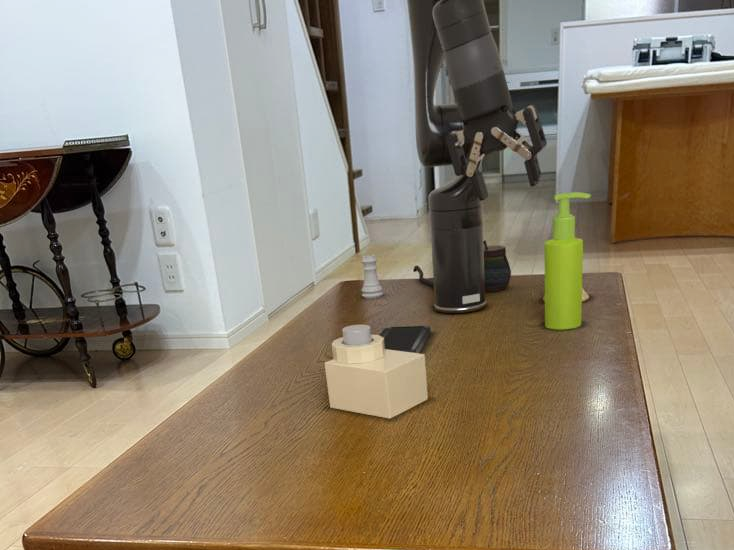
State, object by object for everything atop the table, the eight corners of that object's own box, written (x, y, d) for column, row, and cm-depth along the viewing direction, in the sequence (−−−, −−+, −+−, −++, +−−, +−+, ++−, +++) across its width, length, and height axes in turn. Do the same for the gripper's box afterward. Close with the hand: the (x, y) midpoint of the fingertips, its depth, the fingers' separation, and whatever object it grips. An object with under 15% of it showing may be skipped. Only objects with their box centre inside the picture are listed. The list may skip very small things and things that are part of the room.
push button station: (325, 406, 108) (317, 346, 104) (364, 389, 113) (358, 330, 109) (390, 419, 101) (384, 355, 98) (428, 399, 107) (423, 338, 103)
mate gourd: (513, 285, 165) (512, 232, 161) (508, 293, 159) (507, 239, 154) (477, 286, 167) (476, 234, 163) (471, 294, 161) (469, 240, 156)
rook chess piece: (383, 298, 165) (379, 256, 161) (361, 299, 165) (356, 258, 161) (384, 293, 169) (380, 252, 165) (362, 295, 169) (358, 254, 165)
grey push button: (338, 346, 105) (336, 330, 104) (356, 339, 107) (354, 323, 106) (359, 349, 103) (358, 332, 102) (377, 341, 105) (376, 325, 104)
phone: (431, 325, 136) (415, 350, 123) (431, 332, 137) (416, 357, 124) (384, 327, 138) (364, 351, 125) (385, 333, 138) (365, 359, 126)
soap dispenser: (587, 328, 131) (590, 193, 122) (543, 330, 133) (543, 196, 123) (588, 319, 136) (591, 189, 127) (545, 321, 138) (545, 192, 128)
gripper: (531, 54, 115) (560, 171, 123) (443, 86, 123) (476, 195, 131) (513, 66, 110) (545, 188, 118) (423, 99, 118) (458, 211, 126)
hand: (509, 191), depth 125 cm, fingers open, 8 cm apart
